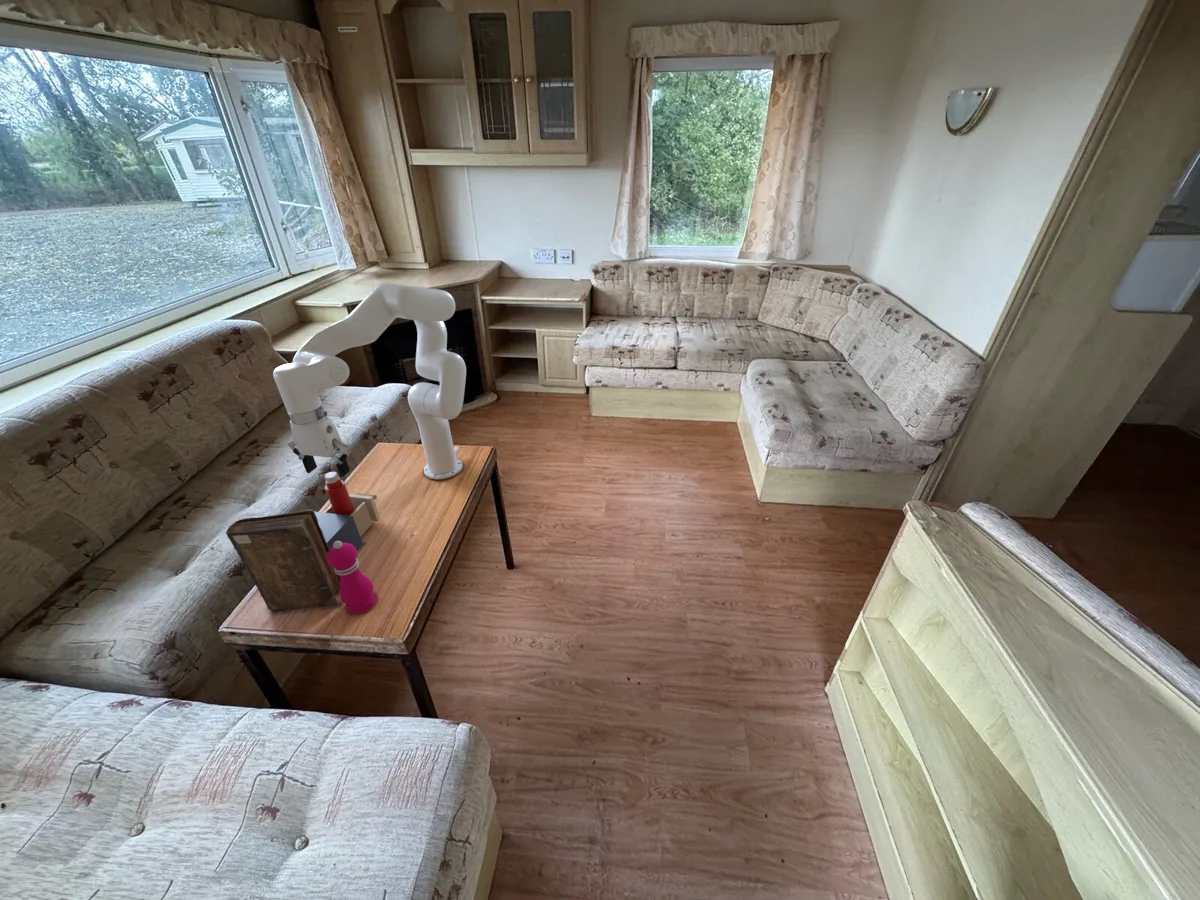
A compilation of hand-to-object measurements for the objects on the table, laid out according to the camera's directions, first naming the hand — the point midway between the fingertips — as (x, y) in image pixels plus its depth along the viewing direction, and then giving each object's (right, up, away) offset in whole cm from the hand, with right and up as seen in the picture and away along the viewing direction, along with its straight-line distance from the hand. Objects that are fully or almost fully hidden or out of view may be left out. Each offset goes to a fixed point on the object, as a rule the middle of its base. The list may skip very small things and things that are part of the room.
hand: (328, 472), depth 125 cm
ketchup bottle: (0, -16, +11) cm, 19 cm away
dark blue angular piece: (-2, -24, +3) cm, 24 cm away
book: (0, -31, -8) cm, 32 cm away
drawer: (0, -17, +12) cm, 21 cm away
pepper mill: (+14, -31, -10) cm, 36 cm away
